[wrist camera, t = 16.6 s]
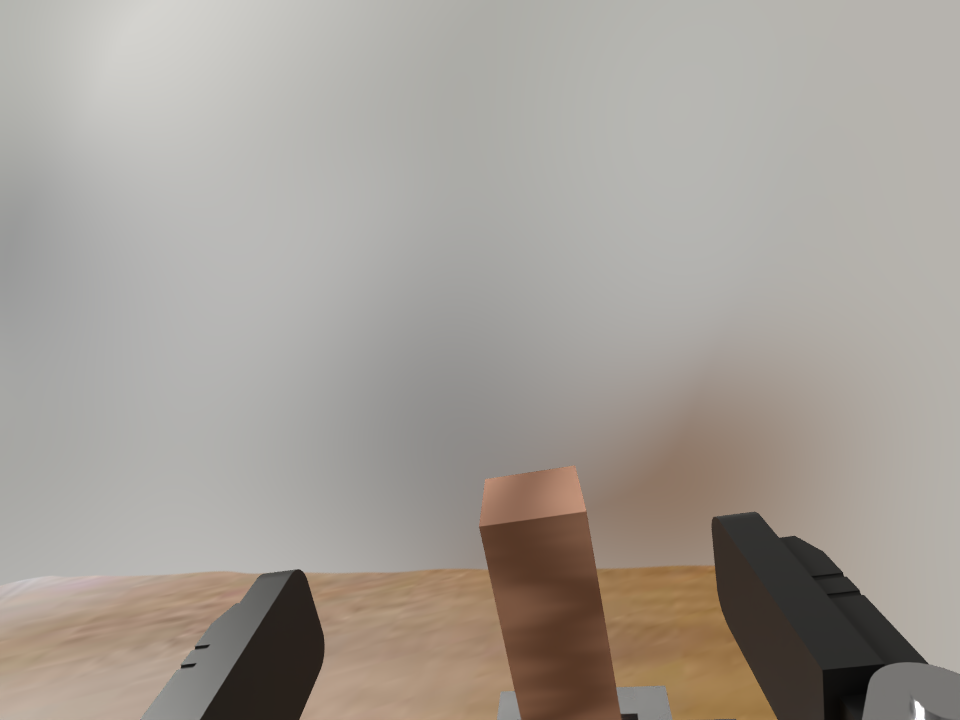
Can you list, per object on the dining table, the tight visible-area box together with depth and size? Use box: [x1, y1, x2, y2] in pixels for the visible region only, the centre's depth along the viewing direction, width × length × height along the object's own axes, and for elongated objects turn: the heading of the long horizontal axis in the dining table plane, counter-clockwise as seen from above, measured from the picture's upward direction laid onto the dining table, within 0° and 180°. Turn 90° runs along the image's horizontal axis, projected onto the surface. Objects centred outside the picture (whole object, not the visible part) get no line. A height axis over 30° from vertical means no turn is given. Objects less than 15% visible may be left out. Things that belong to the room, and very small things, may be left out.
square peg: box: [479, 466, 622, 720], centre depth 24 cm, size 4×4×18 cm
